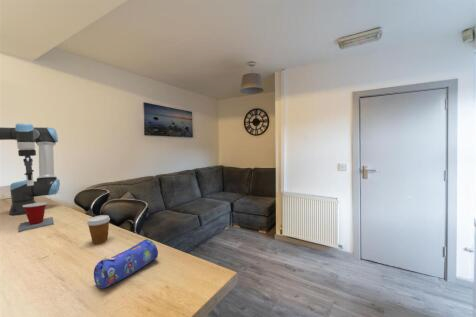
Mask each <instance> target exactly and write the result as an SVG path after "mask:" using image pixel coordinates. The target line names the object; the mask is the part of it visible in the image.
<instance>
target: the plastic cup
mask: <svg viewBox="0 0 476 317" xmlns="http://www.w3.org/2000/svg"><path fill="white" fill-rule="evenodd" d="M47 204H48V203H47V202H36V203H33V204H27V205H23V207H24V209H25V212H26V214H25V215H26V217H27V220H28V221H29V223H30V225H34V224H39V223H42V222H43V219H44V217H45V210H46V207H47Z"/></svg>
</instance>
